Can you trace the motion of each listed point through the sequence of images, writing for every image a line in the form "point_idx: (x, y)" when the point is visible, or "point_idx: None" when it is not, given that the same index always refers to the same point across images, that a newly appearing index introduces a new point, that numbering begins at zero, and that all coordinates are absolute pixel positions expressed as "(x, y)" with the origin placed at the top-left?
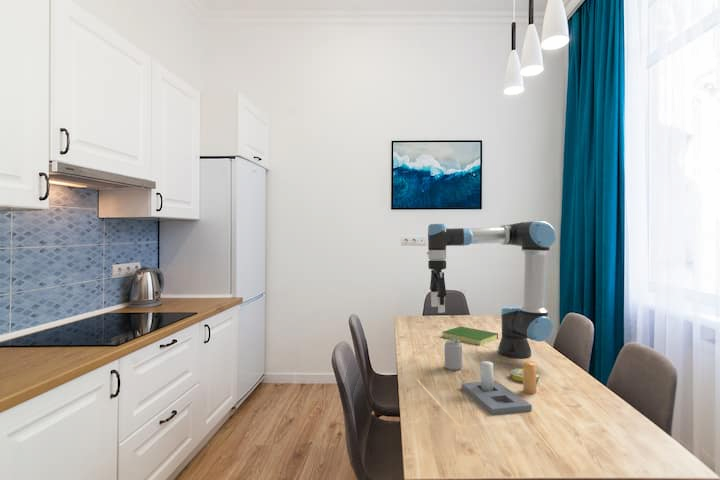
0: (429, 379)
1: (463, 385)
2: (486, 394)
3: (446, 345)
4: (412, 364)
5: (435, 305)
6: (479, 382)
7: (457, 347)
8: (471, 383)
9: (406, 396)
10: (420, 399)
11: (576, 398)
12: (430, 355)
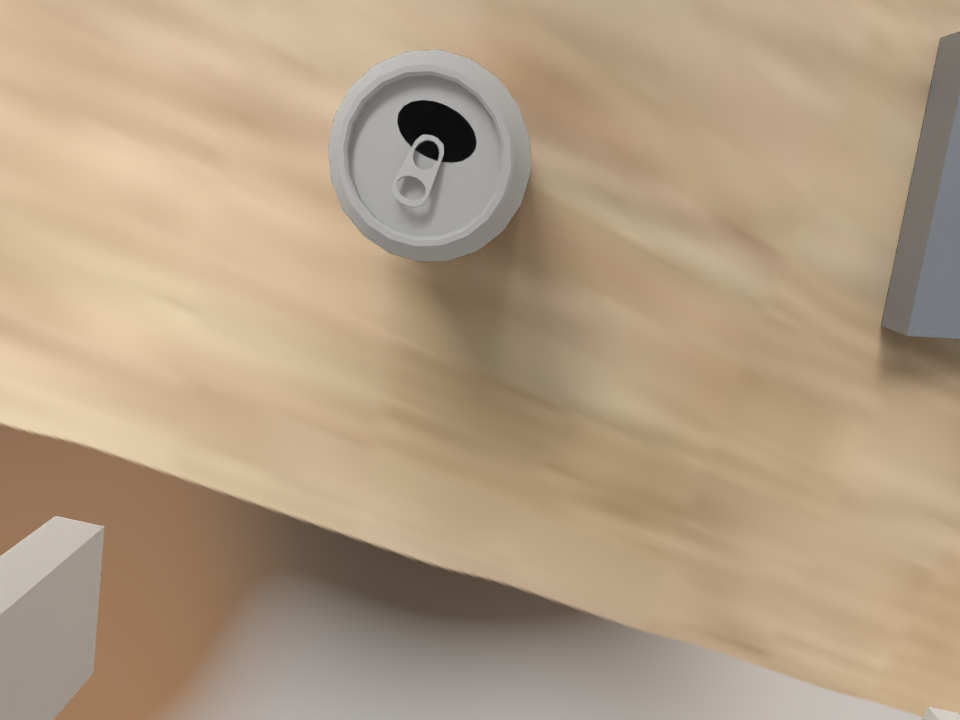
0: (626, 453)
1: (932, 336)
2: None
3: (447, 257)
4: (296, 447)
5: (77, 600)
6: (949, 192)
7: (529, 156)
8: (939, 265)
9: (831, 682)
10: (903, 628)
11: None
12: (92, 212)
